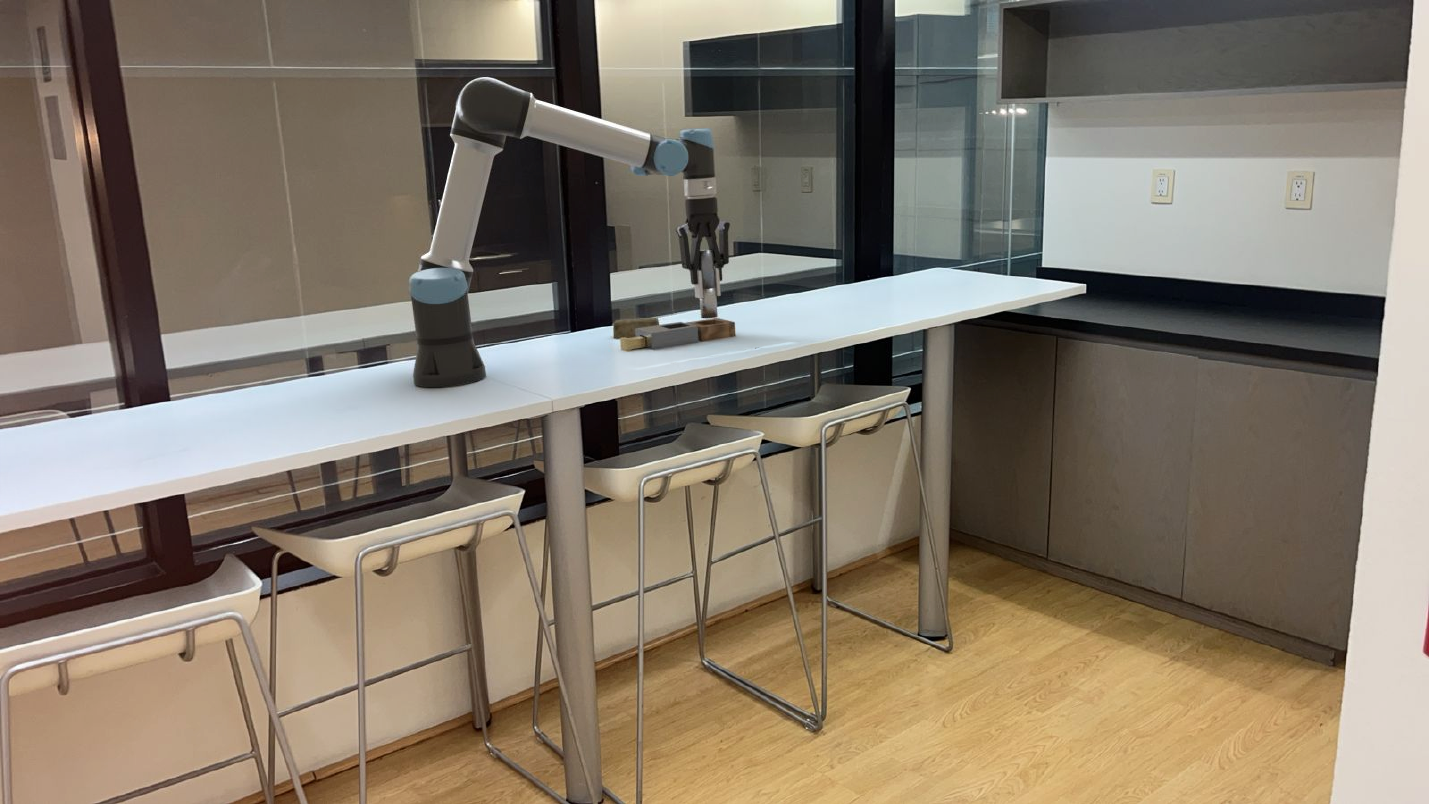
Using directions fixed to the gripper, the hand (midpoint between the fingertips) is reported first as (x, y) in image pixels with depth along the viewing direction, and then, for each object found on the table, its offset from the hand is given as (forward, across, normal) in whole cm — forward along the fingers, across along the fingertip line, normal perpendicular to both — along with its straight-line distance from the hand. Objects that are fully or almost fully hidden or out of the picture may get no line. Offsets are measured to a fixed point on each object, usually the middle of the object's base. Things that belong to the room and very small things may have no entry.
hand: (707, 296), depth 253 cm
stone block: (+11, -12, +16) cm, 23 cm away
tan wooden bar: (+10, -19, 0) cm, 21 cm away
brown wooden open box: (+10, 0, 0) cm, 10 cm away
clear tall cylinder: (+5, 0, 0) cm, 5 cm away
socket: (+10, -12, 0) cm, 15 cm away
